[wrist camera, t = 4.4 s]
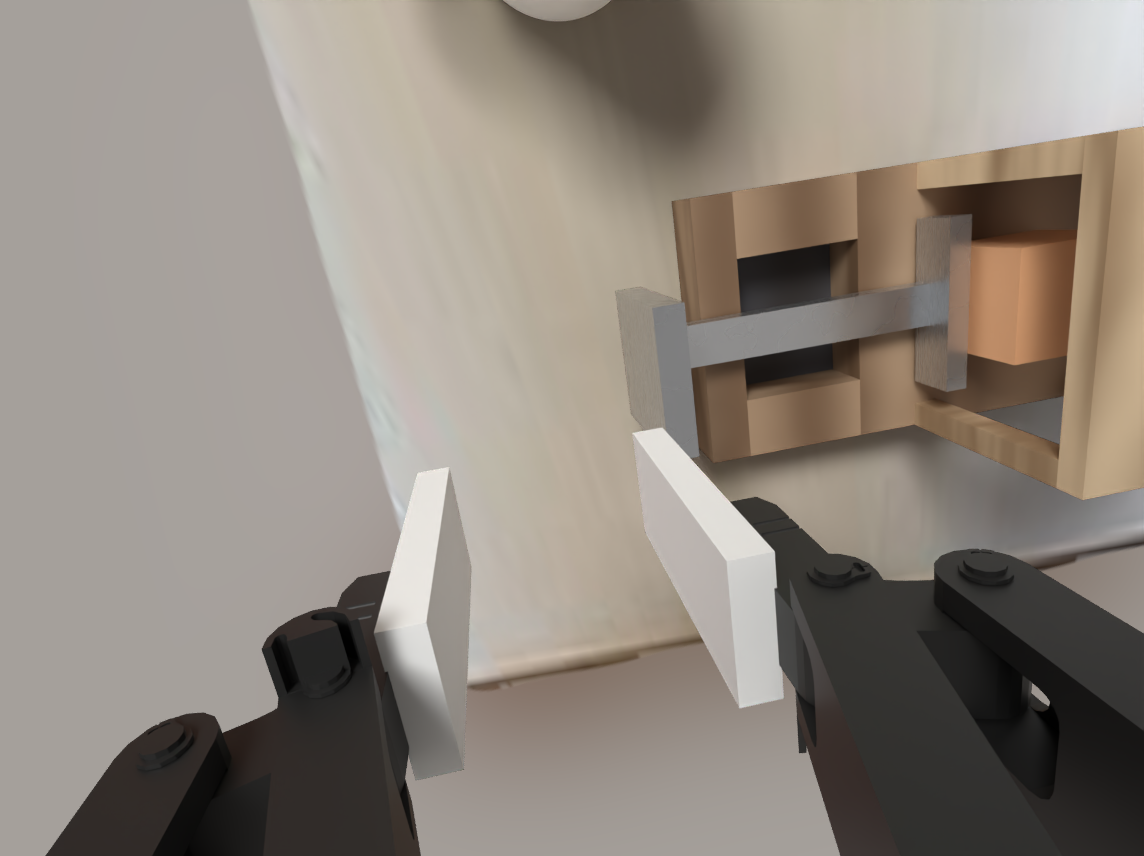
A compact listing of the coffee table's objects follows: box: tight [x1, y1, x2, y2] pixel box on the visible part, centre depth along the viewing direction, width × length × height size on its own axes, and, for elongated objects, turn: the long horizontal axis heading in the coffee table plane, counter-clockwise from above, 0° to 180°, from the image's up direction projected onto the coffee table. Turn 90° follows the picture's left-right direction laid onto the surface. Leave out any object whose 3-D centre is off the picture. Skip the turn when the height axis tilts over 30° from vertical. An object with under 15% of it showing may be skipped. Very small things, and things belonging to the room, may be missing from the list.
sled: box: [615, 214, 972, 458], centre depth 28 cm, size 16×8×7 cm, turn 99°
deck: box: [672, 131, 1113, 463], centre depth 34 cm, size 32×13×3 cm, turn 99°
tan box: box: [915, 127, 1144, 500], centre depth 28 cm, size 10×13×10 cm
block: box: [967, 230, 1078, 365], centre depth 30 cm, size 5×5×5 cm
